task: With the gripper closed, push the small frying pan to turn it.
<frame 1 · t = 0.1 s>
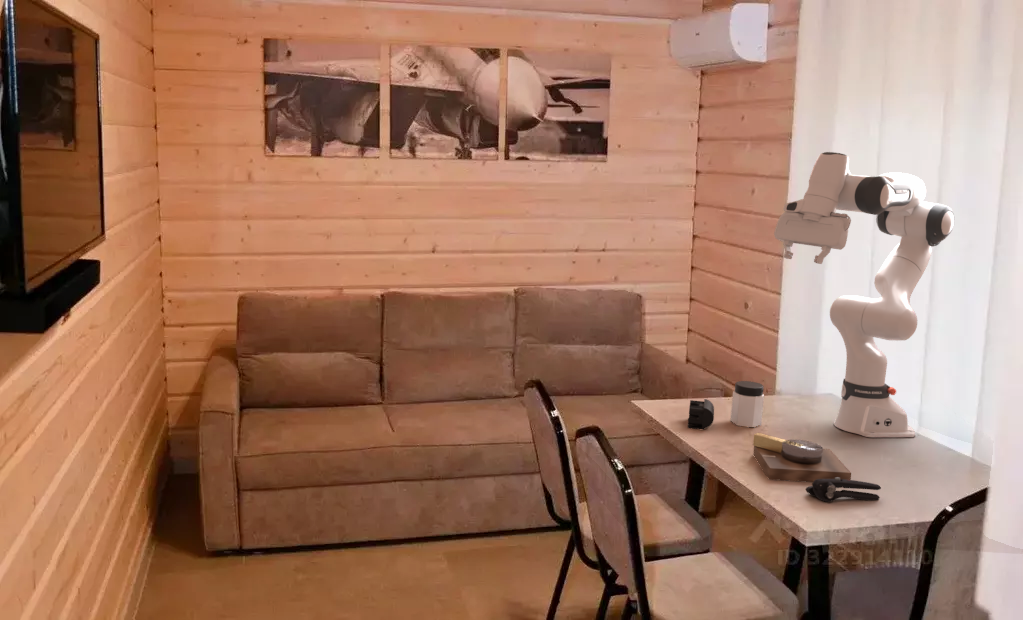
hand: (802, 260, 249), 52 cm above the table, tool tilted 20°, fingers open, 8 cm apart
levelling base: (799, 469, 243), on the table
end cap: (700, 425, 277), on the table
small frying pan: (787, 447, 245), point 5 cm above the table, hinge at -40.0°
jar: (745, 424, 281), on the table
can opener: (844, 500, 224), on the table
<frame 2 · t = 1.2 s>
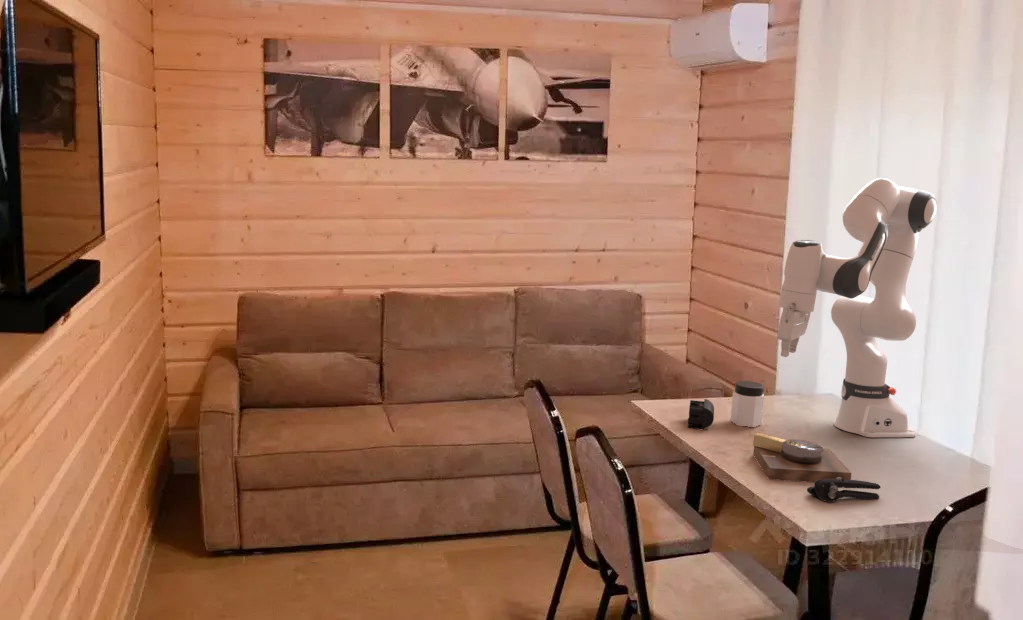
hand: (788, 354, 247), 28 cm above the table, tool pointing down, fingers open, 8 cm apart
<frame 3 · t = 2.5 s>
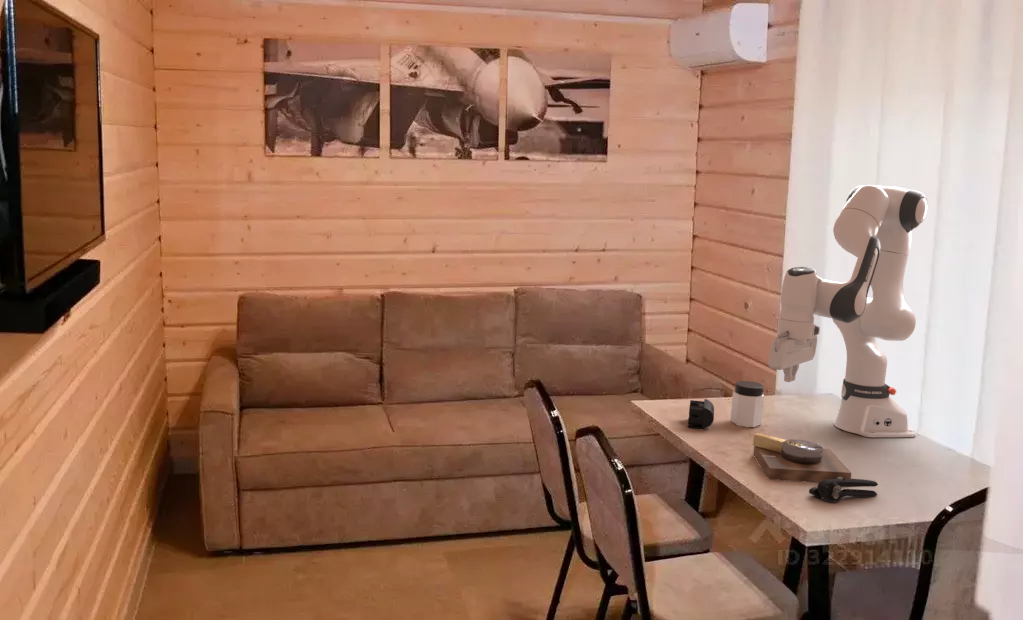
hand: (789, 381, 249), 21 cm above the table, tool pointing down, fingers closed
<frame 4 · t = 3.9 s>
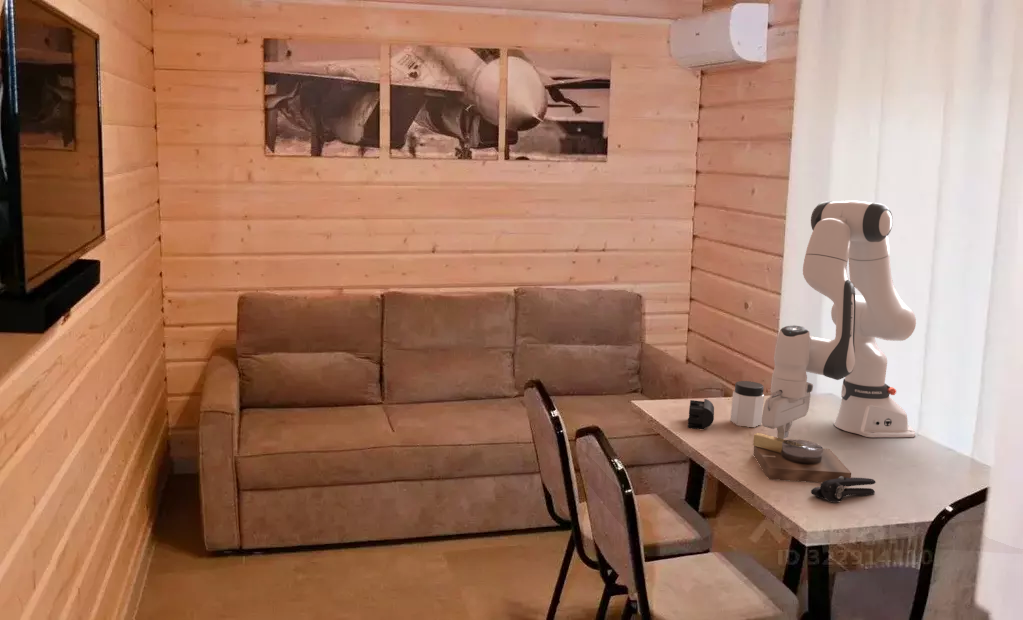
hand: (782, 437, 252), 5 cm above the table, tool pointing down, fingers closed
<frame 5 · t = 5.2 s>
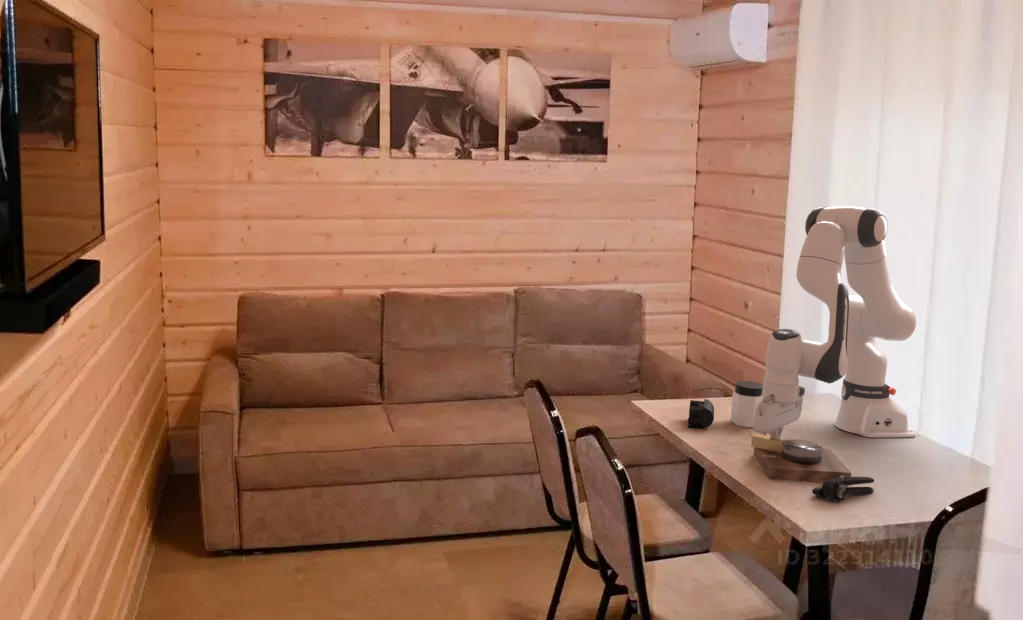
hand: (774, 442, 249), 5 cm above the table, tool pointing down, fingers closed
small frying pan: (786, 447, 245), point 5 cm above the table, hinge at -34.3°, touching gripper
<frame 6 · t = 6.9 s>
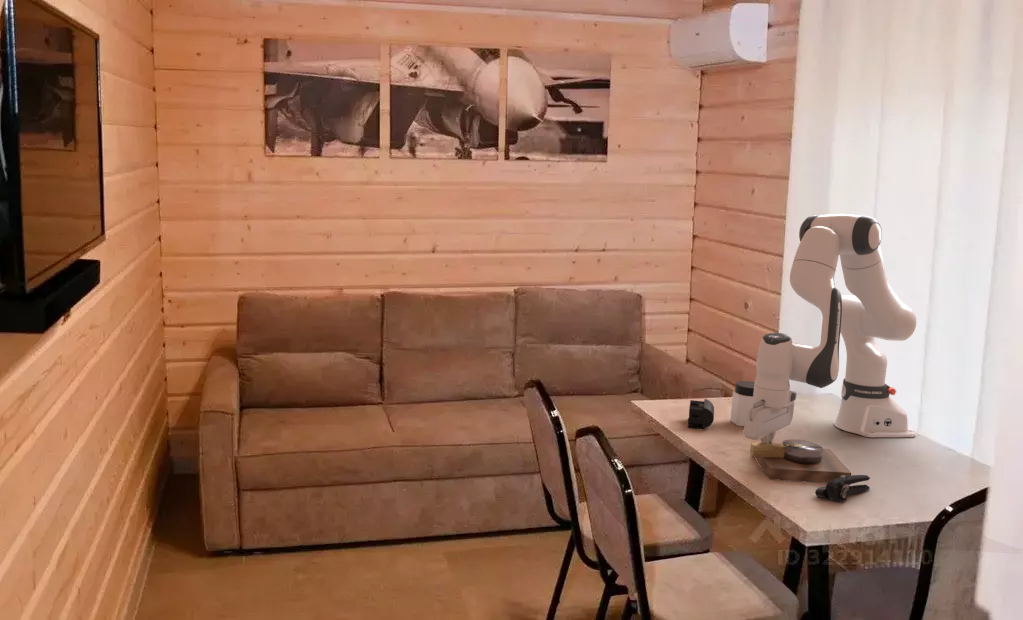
hand: (766, 448, 245), 4 cm above the table, tool pointing down, fingers closed
small frying pan: (786, 450, 242), point 5 cm above the table, hinge at 3.5°, touching gripper
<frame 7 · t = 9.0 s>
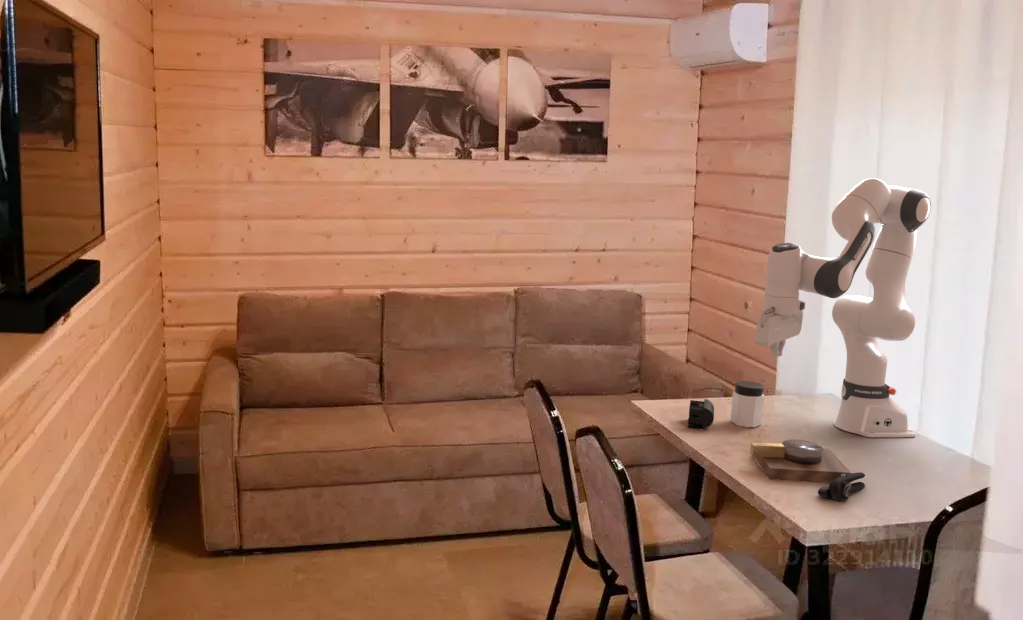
hand: (776, 356, 251), 26 cm above the table, tool pointing down, fingers closed
small frying pan: (786, 450, 242), point 5 cm above the table, hinge at 3.9°
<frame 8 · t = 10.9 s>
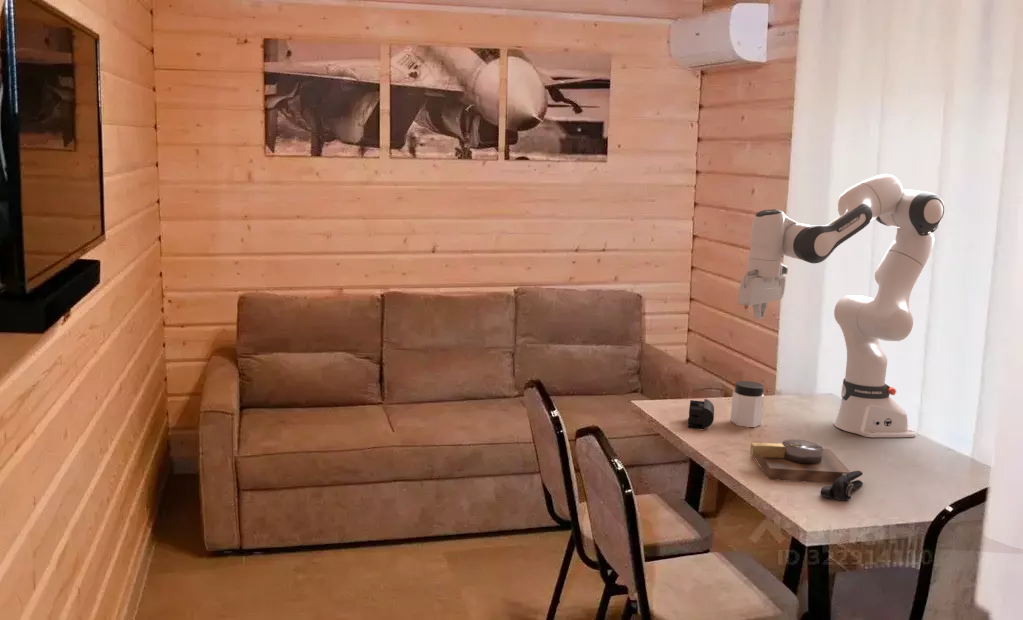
hand: (758, 318, 263), 34 cm above the table, tool pointing down, fingers closed
at the end: small frying pan at +4° (first picture: -40°); end cap moved 0.3 cm from its start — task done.
